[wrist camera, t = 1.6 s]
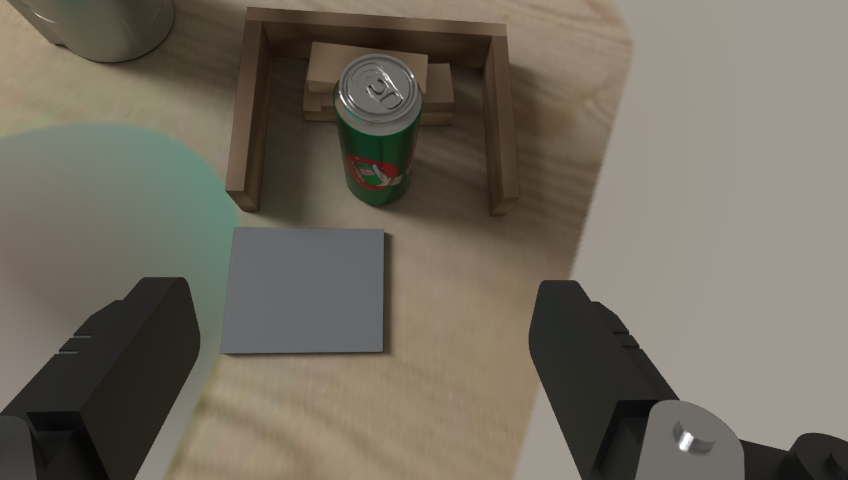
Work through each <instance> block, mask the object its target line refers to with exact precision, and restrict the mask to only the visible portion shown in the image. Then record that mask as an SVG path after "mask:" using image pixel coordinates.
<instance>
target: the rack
mask: <svg viewBox="0 0 848 480" xmlns="http://www.w3.org/2000/svg"><path fill="white" fill-rule="evenodd" d="M313 42H320V43H329V44H338V45H346V46H355V47H363V48H372V49H380V50H389V51H398V52H406V53H415V54H423V55H428V62H427V64H446V63H449V64H450V66H456V67H474V68H481V75H482V91H483V107H484V124H485V140H486V156H487V173H488V189H489V205H490V216H505V215H506V214H507V213H508V212H509V210H510V209H511V208H512V207H513V206H514V204H515V203H516V202H517V201H518V200H519V198H520V189H519V177H518V165H517V153H516V141H515V129H514V117H513V105H512V93H511V81H510V68H509V56H508V44H507V32H506V24H497V23H482V22H467V21H452V20H436V19H421V18H406V17H391V16H376V15H361V14H346V13H330V12H315V11H300V10H285V9H270V8H255V7H247V12H246V21H245V29H244V37H243V45H242V54H241V62H240V70H239V78H238V87H237V95H236V103H235V112H234V120H233V128H232V136H231V145H230V153H229V161H228V169H227V178H226V186H225V191H226V192H227V193H228V194H229V196H230V197H231V198H232V199H233V200H234V201H235V203H236V204H237V205H238V206H239V207H240V209H241V210H242V211H259V204H260V194H261V183H262V173H263V162H264V152H265V142H266V131H267V121H268V110H269V100H270V90H271V79H272V69H273V58H274V56H275V57H293V58H310V56H311V49H312V43H313Z"/></svg>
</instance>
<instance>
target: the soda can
mask: <svg viewBox="0 0 848 480" xmlns="http://www.w3.org/2000/svg"><path fill="white" fill-rule="evenodd" d="M333 103H334V109H335V116H336V122H337V128H338V134H339V140H340V146H341V152H342V158H343V164H344V170H345V176H346V182H347V185H348V187H349V189H350V191H351V192H352V193H353V194H354V195H355V196H356V197H357V198H358V199H360V200H361V201H363V202H365V203H368V204H372V205H385V204H389V203H392V202H394V201H396V200H397V199H399V198H400V197H401V196H402V195H403V194H404V193H405V191H406V190H407V188H408V185H409V182H410V176H411V170H412V164H413V159H414V153H415V147H416V141H417V135H418V129H419V124H420V118H421V112H422V106H423V96H422V91H421V88H420V86H419V84H418V82H417V80H416V78H415V75H414V73H413V72H412V70H411V69H410V68H409V67H408V66H407V65H406V64H405V63H404V62H402V61H401V60H399V59H397V58H395V57H393V56H390V55H386V54H378V53H374V54H367V55H363V56H360V57H358V58H356V59H354V60H353V61H351V62H350V63H349V64H348V65H347V66H346V67H345V68H344V70H343V71H342V73H341V75H340V78H339V80H338V81H337V83H336V85H335V88H334V92H333Z"/></svg>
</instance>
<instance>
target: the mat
mask: <svg viewBox="0 0 848 480" xmlns="http://www.w3.org/2000/svg"><path fill="white" fill-rule="evenodd" d="M383 269H384V230H381V229H319V228H258V227H234V230H233V239H232V247H231V257H230V265H229V274H228V283H227V292H226V301H225V310H224V319H223V328H222V337H221V346H220V354H240V353H322V352H383Z"/></svg>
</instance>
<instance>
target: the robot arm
mask: <svg viewBox="0 0 848 480" xmlns="http://www.w3.org/2000/svg"><path fill="white" fill-rule="evenodd" d="M7 1H8V2H9V3H10V4H11V5H12V6H13V7H14V8H15V9H16V10H17V11H18V12H19V13H20V14H21V15H22V16H23V17H24V18H25V19H26V20H27V21H28V22H29V23H30V24H32V25H33V26H34V27H35V28H36V29H37V30H38V31H39V32H40V33H41V34H42V35H43V36H44V37H45V38H46V39H47V40H48V41H49V42H50V43H52V44H61V45H64V46H66V47H67V48H69V49H70V50H71V51H73V52H74V53H75V54H77V55H79V56H82V57H84V58H86V59H90V60H94V61H98V62H120V61H126V60H130V59H133V58H137V57H139V56H141V55H143V54H146V53H148V52H149V51H151V50H152V49H154V48H155V47H156V46H158V45H159V44H160V43H161V42H162V41H163V40H164V39H165V38H166V36H167V34H168V33H169V31H170V29H171V27H172V24H173V21H174V7H173V3H172V0H7ZM199 349H200V331H199V327H198V322H197V318H196V314H195V310H194V305H193V301H192V297H191V293H190V288H189V285H188V282H187V281H186V279H185V278H183V277H145V278H143V279H141V280H140V281H139V282H138V283H137V284H136V286H135V287H134V288H133V289H132V290H131V291H130V293H129V294H128V295H127V296H126V297H125V298H124V299H123V300H115V301H114V302H112V303H111V304H109V305H107V306H106V307H104V308H103V309H101V310H99V311H98V312H96V313H95V314H93V315H91V316H90V317H89V318H88V319H87V320H86V321H85V323H84V324H83V325H82V326H81V327H80V328H79V329H78V330H77V331H76V332H75V333H74V337H73V338H70V339H69V340H68V341H67V342H66V343H65V344H64V345H63V346H62V348H60V350H59V354H55V355H54V356H53V357H52V358H51V359H50V360H49V361H48V362H47V364H45V366H44V367H43V368H42V369H41V370H40V371H39V372H38V373H37V374H36V375H35V376H34V377H33V379H32V380H31V381H30V382H29V383H28V384H27V385H26V386H25V387H24V388H23V389H22V390H21V392H20V393H19V394H18V395H17V396H16V397H15V398H14V399H13V400H12V401H11V402H10V403H9V404H8V406H6V408H5V409H4V410H3V411H2V412H1V413H0V480H134V479H135V477H136V475H137V473H138V471H139V469H140V468H141V466H142V464H143V462H144V460H145V458H146V456H147V454H148V452H149V450H150V448H151V446H152V445H153V443H154V441H155V439H156V437H157V435H158V433H159V431H160V429H161V427H162V425H163V423H164V421H165V419H166V418H167V415H168V414H169V412H170V410H171V408H172V406H173V404H174V402H175V400H176V398H177V396H178V395H179V393H180V391H181V389H182V387H183V385H184V383H185V381H186V379H187V377H188V375H189V373H190V371H191V370H192V368H193V366H194V364H195V362H196V360H197V357H198V354H199ZM529 350H530V355H531V358H532V360H533V363H534V365H535V368H536V370H537V372H538V375H539V377H540V380H541V382H542V384H543V387H544V389H545V392H546V394H547V397H548V399H549V401H550V403H551V406H552V409H553V411H554V413H555V416H556V418H557V421H558V423H559V425H560V428H561V430H562V432H563V435H564V437H565V440H566V442H567V445H568V447H569V450H570V451H571V454H572V457H573V459H574V462H575V464H576V466H577V469H578V471H579V474H580V476H581V479H582V480H848V442H847V441H844V440H842V439H839V438H836V437H833V436H830V435H826V434H821V433H806V434H803V435H801V436H799V437H798V439H797V440H796V441H795V443H794V444H793V446H792V447H791V448H790V450H789V451H785V450H781V449H777V448H773V447H769V446H765V445H760V444H756V443H752V442H748V441H744V440H740V439H738V437H737V436H736V435H735V433H734V432H733V431H732V430H731V429H730V428H729V427H728V426H727V424H725V423H724V422H723V421H722V420H721V419H719V418H718V417H717V416H715V415H714V414H712V413H711V412H709V411H707V410H705V409H703V408H701V407H699V406H697V405H694V404H692V403H689V402H684V401H680V400H679V398H678V397H677V395H676V394H675V393H674V391H673V390H672V389H671V387H670V386H669V385H668V383H667V382H666V381H665V379H664V378H663V377H662V375H661V374H660V372H659V371H658V370H657V368H656V367H655V366H654V364H653V363H652V362H651V360H650V359H649V358H648V356H647V355H646V354H645V353H644V351H643V350H642V349H640V348H639V344H638V343H637V342H636V340H635V339H634V337H633V336H632V335H629V331H628V329H627V328H626V327H625V325H624V324H623V323H622V321H621V320H620V319H619V317H618V316H617V315H615V314H614V313H613V312H612V311H610V310H609V309H608V308H606V307H605V306H604V305H602V304H601V303H600V302H591V300H590V299H589V297H588V296H587V295H586V293H585V292H584V290H583V289H582V287H581V286H580V284H579V283H578V282H577V281H575V280H544V281H542V282H541V284H540V286H539V290H538V294H537V298H536V303H535V307H534V312H533V316H532V321H531V325H530V330H529Z"/></svg>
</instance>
